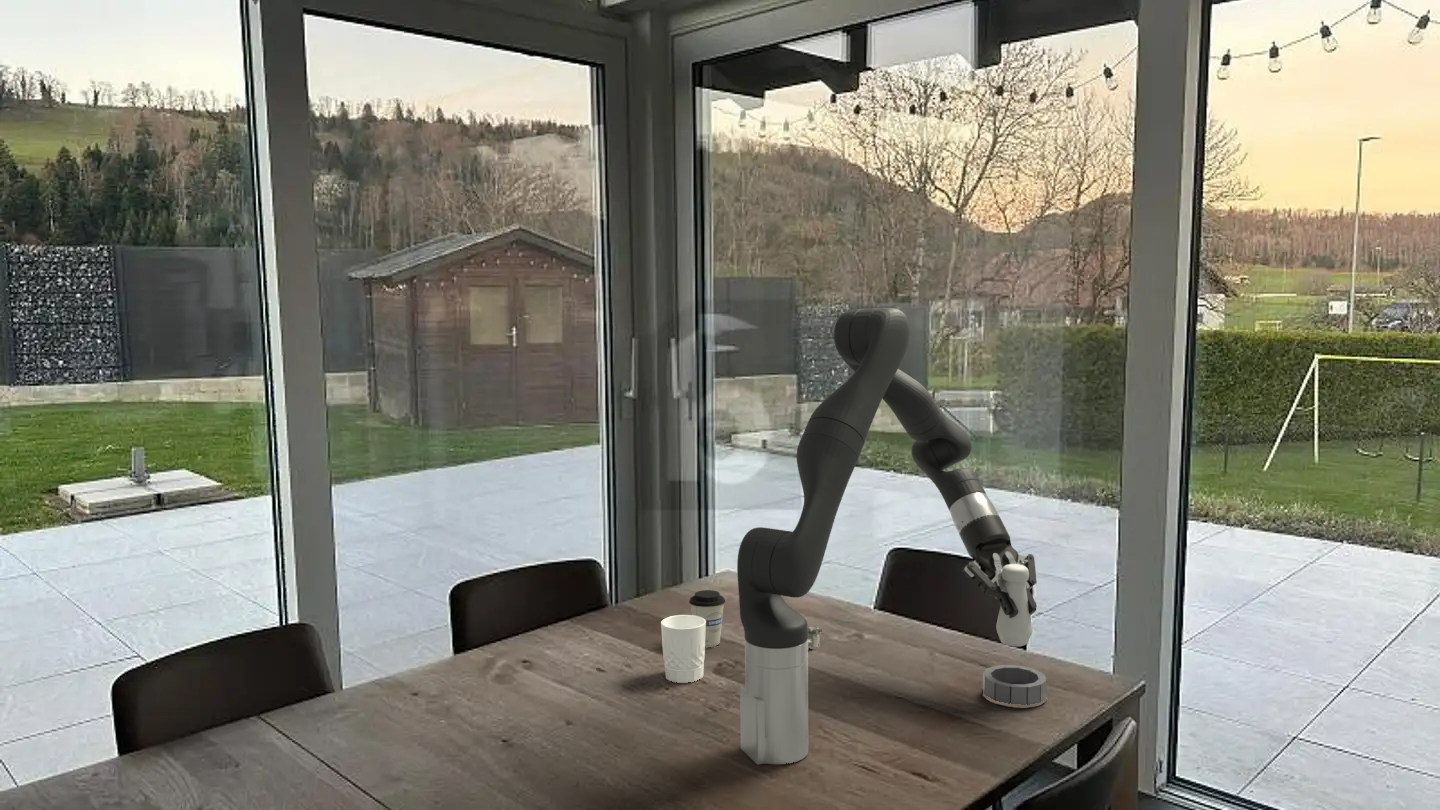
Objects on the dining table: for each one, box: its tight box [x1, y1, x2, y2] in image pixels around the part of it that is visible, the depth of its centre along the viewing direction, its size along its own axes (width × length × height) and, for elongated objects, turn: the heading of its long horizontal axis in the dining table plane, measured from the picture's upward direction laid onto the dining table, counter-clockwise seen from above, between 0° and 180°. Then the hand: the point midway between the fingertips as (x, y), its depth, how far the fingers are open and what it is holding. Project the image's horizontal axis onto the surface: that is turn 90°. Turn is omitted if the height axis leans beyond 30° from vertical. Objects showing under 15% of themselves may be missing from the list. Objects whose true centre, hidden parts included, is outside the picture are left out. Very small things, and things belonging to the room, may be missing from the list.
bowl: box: [982, 664, 1048, 705], centre depth 173 cm, size 10×10×4 cm
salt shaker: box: [995, 563, 1033, 648], centre depth 172 cm, size 6×6×13 cm
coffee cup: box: [688, 589, 726, 647], centre depth 201 cm, size 7×7×10 cm
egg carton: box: [808, 626, 823, 648], centre depth 201 cm, size 11×8×4 cm
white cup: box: [660, 614, 706, 684], centre depth 184 cm, size 8×8×10 cm
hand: (1023, 613), depth 170 cm, fingers closed on salt shaker, 3 cm apart
